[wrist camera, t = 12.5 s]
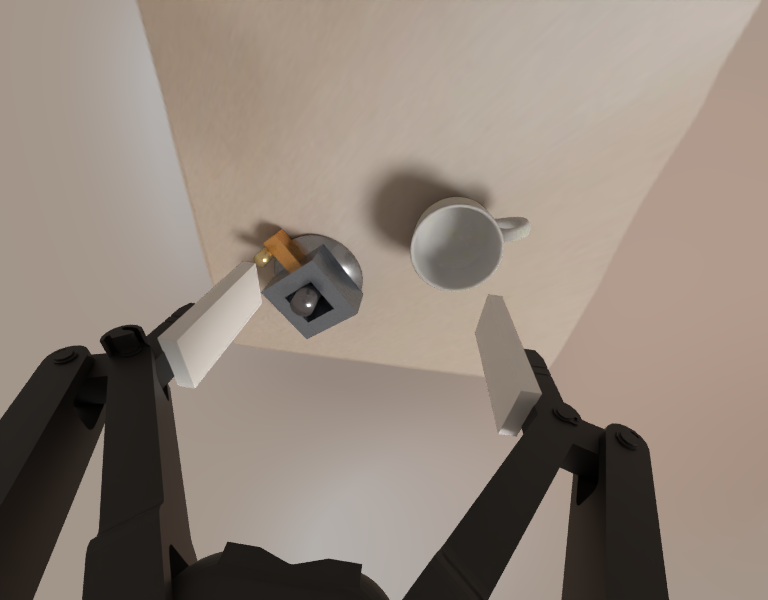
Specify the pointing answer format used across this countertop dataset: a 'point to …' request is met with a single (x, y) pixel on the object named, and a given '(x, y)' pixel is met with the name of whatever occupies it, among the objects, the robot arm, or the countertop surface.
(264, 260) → the dowel pin
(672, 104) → the countertop surface
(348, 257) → the rod on disc base
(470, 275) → the teacup
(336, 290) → the grey hollow block
